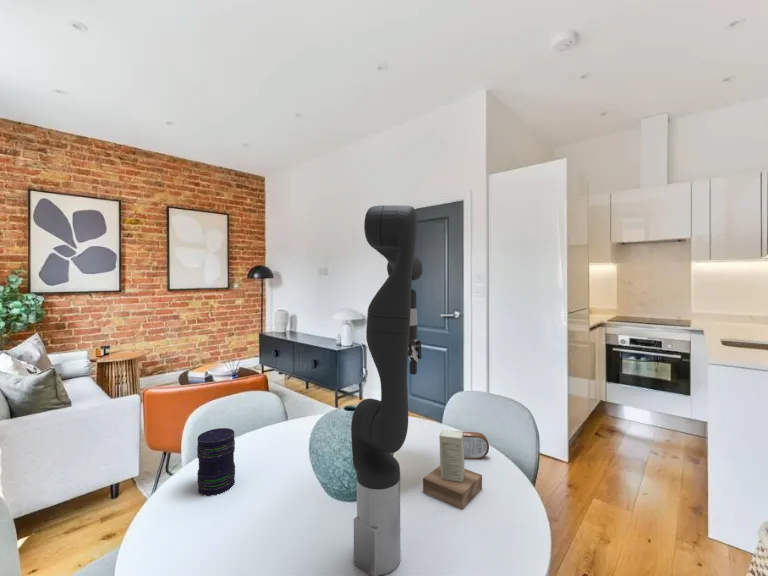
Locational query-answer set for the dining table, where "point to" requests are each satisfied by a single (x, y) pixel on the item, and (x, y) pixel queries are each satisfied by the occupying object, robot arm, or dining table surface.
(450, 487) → the walnut plinth
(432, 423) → the dining table surface
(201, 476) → the dark blue cylinder
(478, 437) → the tin
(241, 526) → the dining table surface
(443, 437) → the skincare box
